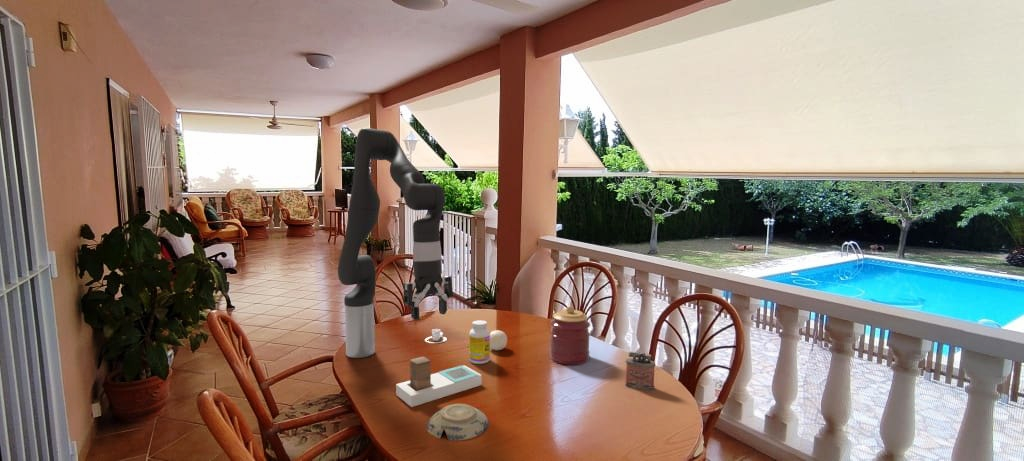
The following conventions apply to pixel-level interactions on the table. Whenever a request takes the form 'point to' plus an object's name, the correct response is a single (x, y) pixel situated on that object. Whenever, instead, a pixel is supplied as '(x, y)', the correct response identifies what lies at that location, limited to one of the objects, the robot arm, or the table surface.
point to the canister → (569, 337)
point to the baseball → (497, 340)
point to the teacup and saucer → (436, 336)
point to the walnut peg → (420, 373)
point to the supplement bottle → (479, 343)
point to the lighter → (640, 371)
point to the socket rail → (440, 385)
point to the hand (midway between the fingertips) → (429, 316)
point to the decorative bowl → (458, 422)
